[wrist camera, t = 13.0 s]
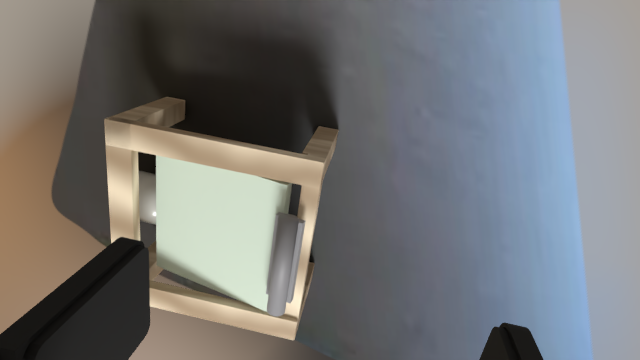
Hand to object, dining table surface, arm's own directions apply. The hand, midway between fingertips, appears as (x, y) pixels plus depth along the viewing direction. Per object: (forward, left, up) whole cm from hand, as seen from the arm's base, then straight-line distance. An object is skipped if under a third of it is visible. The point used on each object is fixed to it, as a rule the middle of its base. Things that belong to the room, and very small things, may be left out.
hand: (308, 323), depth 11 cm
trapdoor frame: (+12, -11, -30) cm, 34 cm away
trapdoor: (+12, -10, -23) cm, 27 cm away
